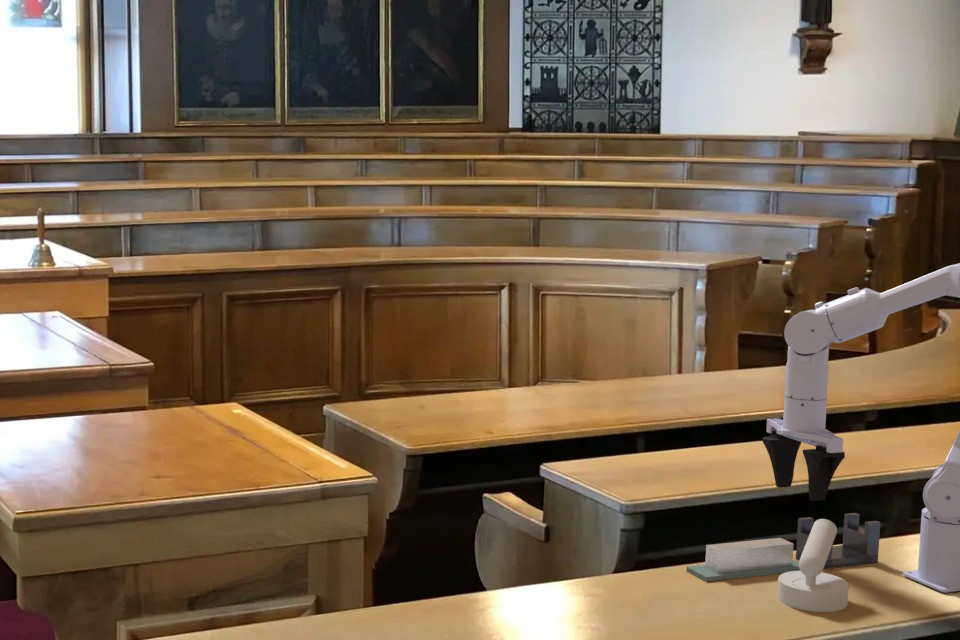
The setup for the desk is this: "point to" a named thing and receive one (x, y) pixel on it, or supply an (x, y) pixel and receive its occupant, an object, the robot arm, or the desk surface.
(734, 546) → the silver rail
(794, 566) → the rubber mat
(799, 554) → the dark grey slotted rack
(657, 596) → the desk surface
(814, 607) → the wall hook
